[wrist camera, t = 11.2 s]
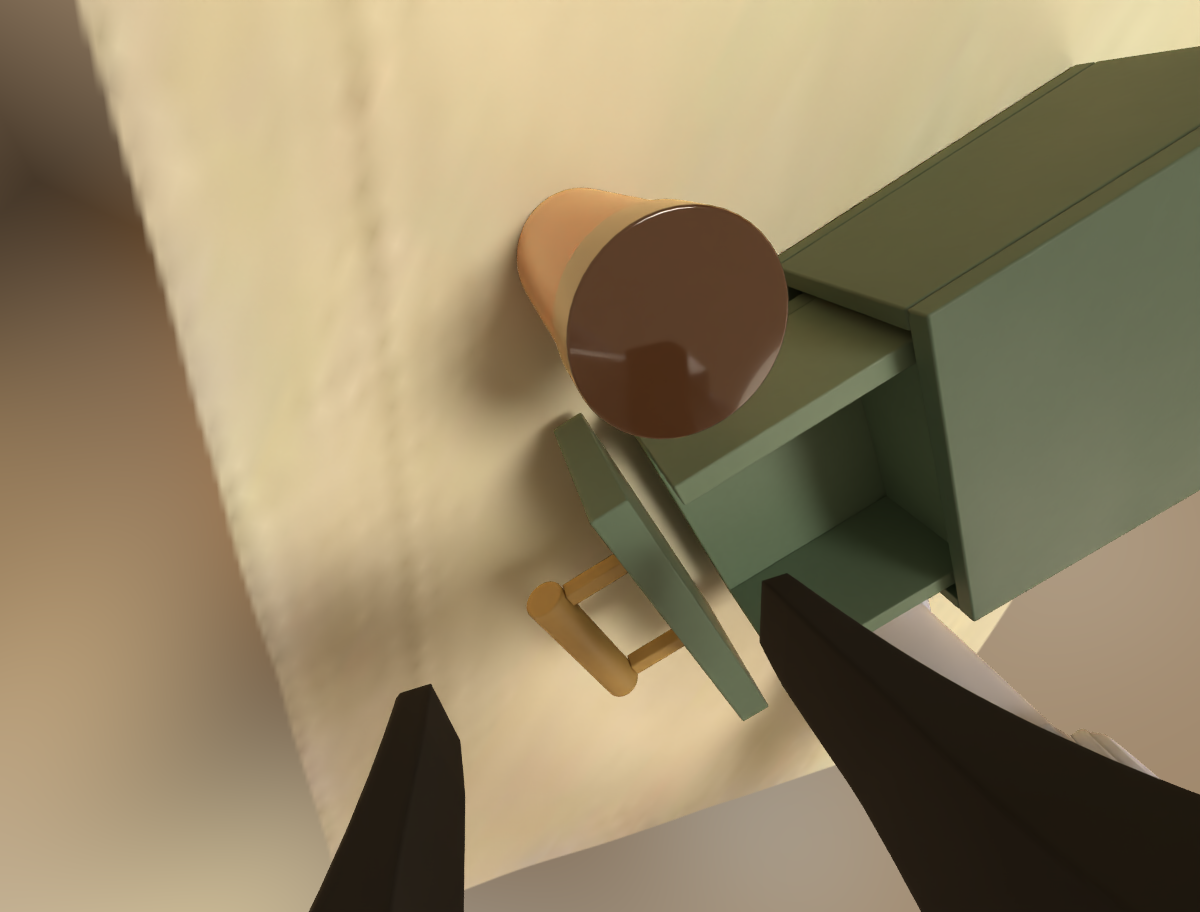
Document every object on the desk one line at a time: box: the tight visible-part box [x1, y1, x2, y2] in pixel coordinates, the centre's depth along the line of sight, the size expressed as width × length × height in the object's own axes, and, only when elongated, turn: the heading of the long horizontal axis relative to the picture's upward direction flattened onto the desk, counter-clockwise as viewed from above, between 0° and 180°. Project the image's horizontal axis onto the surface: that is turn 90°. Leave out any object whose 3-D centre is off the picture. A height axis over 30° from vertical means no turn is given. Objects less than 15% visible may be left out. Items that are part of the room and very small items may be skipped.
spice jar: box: [517, 188, 789, 439], centre depth 13 cm, size 4×4×8 cm
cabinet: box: [778, 46, 1200, 621], centre depth 19 cm, size 12×14×7 cm
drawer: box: [527, 292, 955, 721], centre depth 19 cm, size 15×13×6 cm
